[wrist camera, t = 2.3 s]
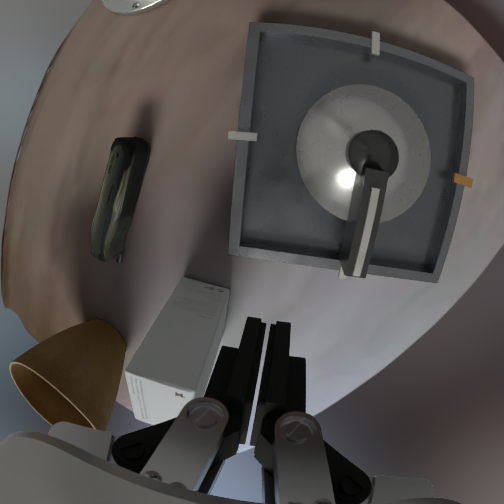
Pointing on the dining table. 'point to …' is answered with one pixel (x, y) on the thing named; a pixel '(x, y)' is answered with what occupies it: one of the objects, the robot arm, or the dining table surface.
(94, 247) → the green cucumber
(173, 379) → the skincare box
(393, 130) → the dial
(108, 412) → the plant pot
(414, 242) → the housing
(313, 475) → the robot arm
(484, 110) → the dining table surface
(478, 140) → the dining table surface
